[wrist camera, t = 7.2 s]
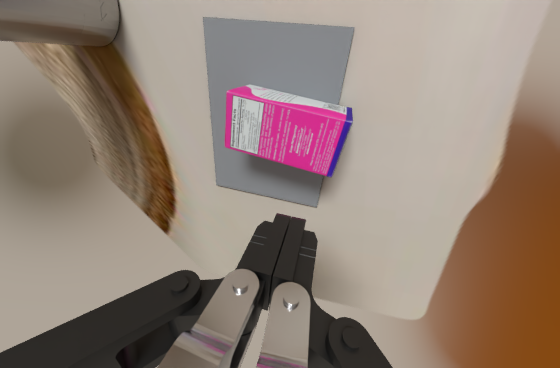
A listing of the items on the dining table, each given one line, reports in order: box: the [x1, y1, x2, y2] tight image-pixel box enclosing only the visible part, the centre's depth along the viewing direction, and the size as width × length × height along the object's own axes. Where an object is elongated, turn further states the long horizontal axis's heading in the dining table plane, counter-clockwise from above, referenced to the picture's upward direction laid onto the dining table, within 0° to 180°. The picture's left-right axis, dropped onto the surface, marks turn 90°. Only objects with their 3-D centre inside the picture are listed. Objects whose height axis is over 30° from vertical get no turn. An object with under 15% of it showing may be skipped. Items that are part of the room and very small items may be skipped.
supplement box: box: [224, 84, 353, 177], centre depth 22 cm, size 6×6×12 cm
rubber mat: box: [203, 17, 354, 207], centre depth 26 cm, size 15×20×1 cm
